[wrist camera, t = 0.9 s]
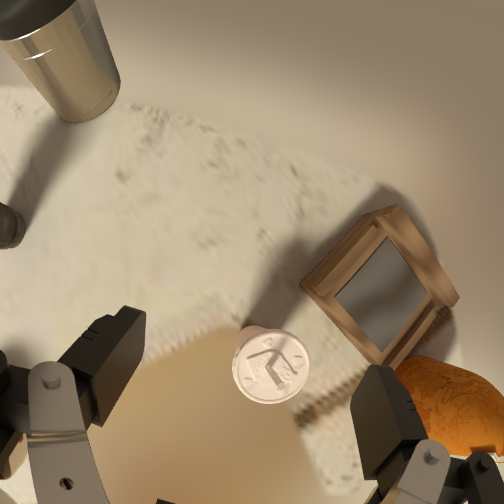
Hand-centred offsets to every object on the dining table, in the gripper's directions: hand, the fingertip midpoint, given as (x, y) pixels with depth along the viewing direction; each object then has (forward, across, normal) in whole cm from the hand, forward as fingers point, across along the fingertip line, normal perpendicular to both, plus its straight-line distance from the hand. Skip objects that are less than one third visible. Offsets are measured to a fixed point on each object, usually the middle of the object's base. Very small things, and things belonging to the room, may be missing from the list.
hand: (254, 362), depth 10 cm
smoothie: (+20, -1, +13) cm, 24 cm away
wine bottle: (+22, -24, +17) cm, 37 cm away
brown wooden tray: (+25, -14, +6) cm, 29 cm away
